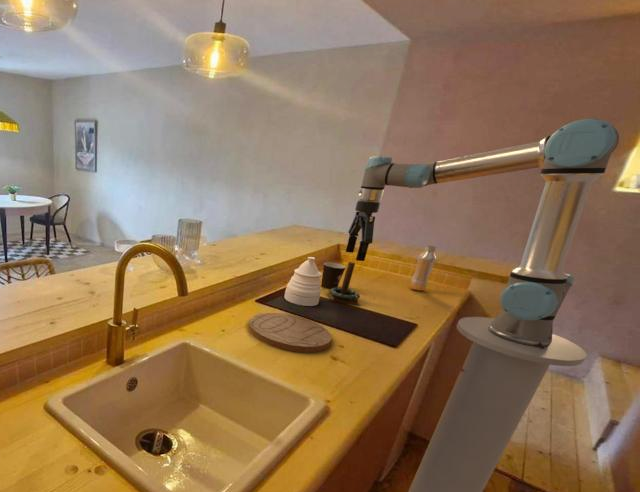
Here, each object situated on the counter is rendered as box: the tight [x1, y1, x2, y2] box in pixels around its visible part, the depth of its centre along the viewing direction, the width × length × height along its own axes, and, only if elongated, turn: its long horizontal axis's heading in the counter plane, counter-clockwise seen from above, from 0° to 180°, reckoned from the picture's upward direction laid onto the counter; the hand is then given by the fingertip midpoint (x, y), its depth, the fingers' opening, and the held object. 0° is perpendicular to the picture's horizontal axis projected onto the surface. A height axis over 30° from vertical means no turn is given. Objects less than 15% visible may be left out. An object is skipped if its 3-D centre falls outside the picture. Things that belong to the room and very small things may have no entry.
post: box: [327, 261, 359, 305], centre depth 157 cm, size 9×9×16 cm
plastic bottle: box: [408, 245, 437, 292], centre depth 172 cm, size 6×7×20 cm
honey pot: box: [284, 256, 323, 307], centre depth 153 cm, size 13×13×18 cm
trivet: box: [248, 312, 332, 353], centre depth 127 cm, size 25×25×2 cm
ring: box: [328, 286, 361, 301], centre depth 159 cm, size 11×11×2 cm
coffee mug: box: [320, 262, 346, 290], centre depth 173 cm, size 12×9×10 cm
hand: (354, 256), depth 153 cm, fingers open, 13 cm apart
